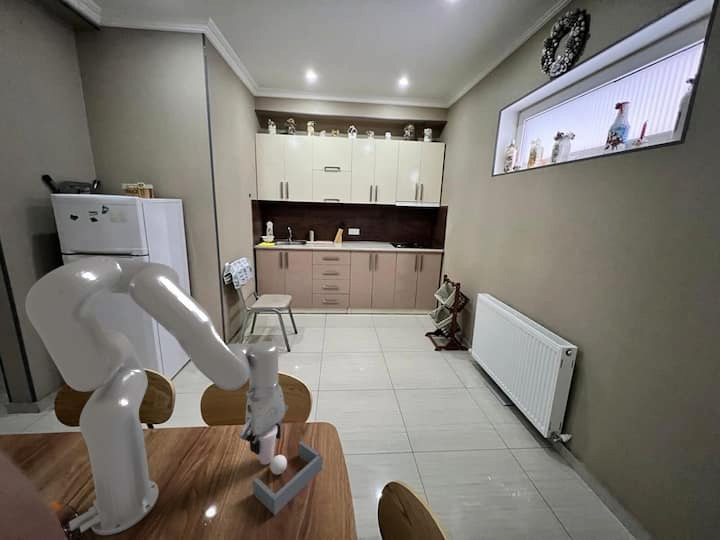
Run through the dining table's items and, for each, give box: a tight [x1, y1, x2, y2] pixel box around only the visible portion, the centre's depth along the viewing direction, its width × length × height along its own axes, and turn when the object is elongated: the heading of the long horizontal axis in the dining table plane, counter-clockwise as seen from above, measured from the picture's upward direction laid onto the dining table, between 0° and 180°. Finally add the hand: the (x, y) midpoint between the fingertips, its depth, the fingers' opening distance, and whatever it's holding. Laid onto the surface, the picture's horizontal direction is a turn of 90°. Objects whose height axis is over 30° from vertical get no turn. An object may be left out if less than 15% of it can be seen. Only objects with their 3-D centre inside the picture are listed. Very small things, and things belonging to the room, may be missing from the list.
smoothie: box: [253, 424, 277, 466], centre depth 81 cm, size 6×6×14 cm
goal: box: [252, 440, 323, 516], centre depth 76 cm, size 16×8×4 cm, turn 144°
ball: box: [269, 454, 288, 475], centre depth 79 cm, size 4×4×4 cm
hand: (266, 443), depth 81 cm, fingers closed on smoothie, 6 cm apart
